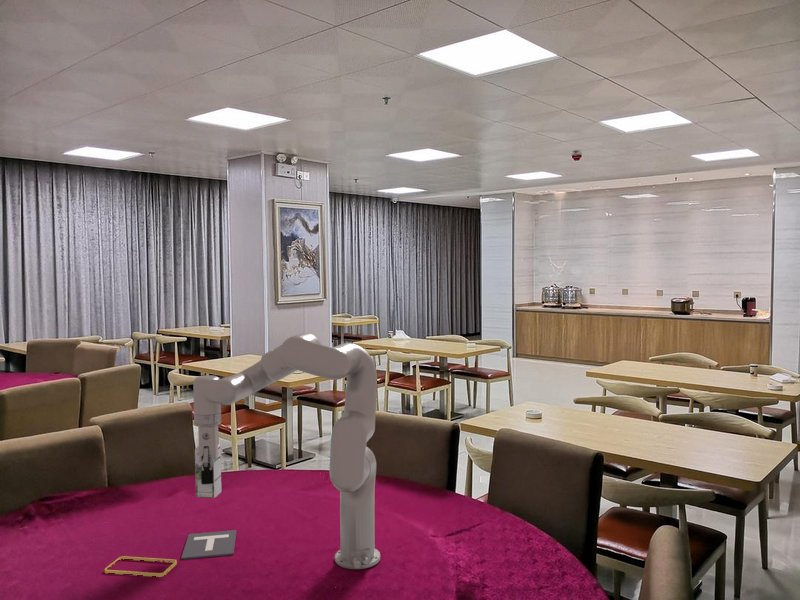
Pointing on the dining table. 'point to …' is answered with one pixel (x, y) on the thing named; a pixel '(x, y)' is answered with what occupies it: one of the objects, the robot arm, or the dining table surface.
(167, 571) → the phone case
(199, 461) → the syrup box
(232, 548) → the letter mat
